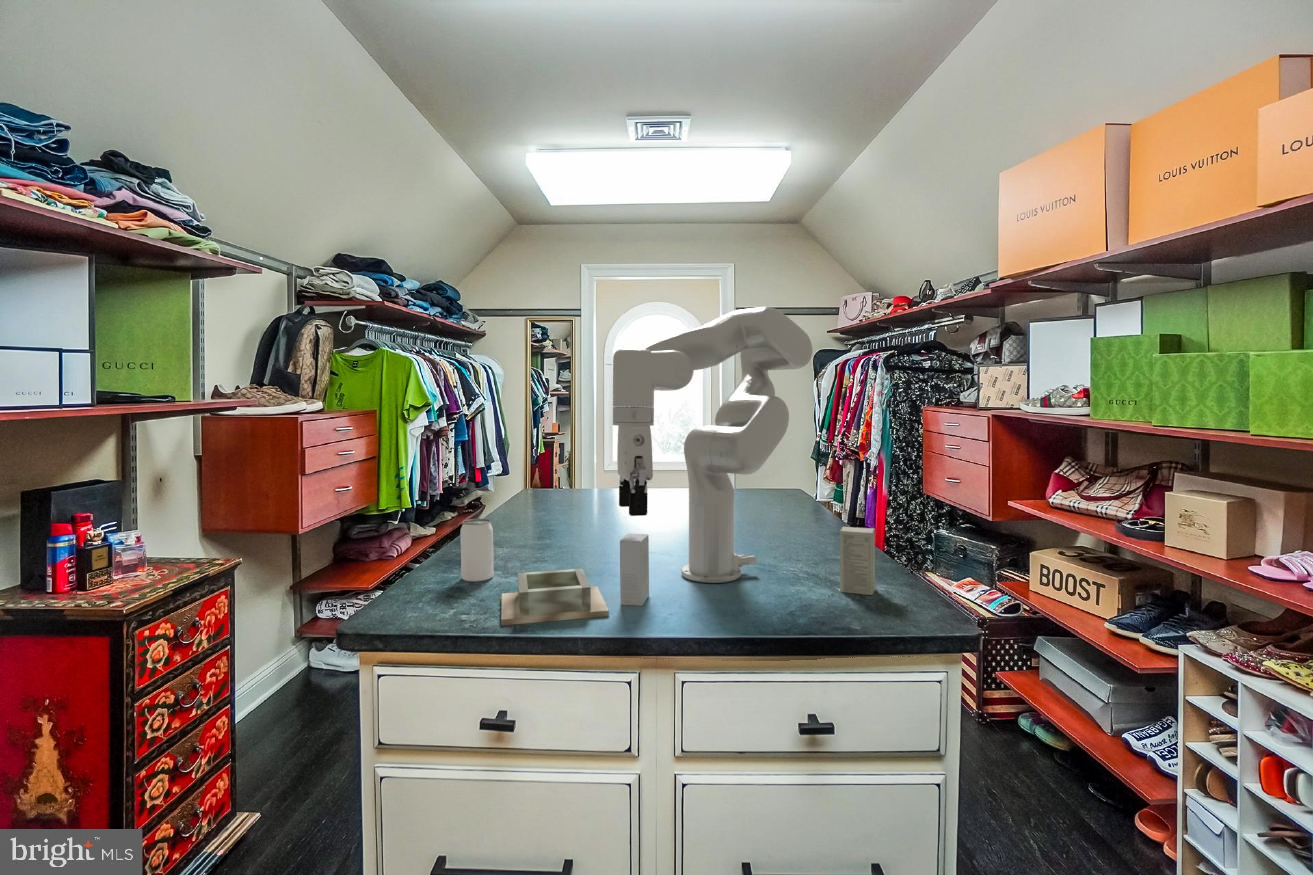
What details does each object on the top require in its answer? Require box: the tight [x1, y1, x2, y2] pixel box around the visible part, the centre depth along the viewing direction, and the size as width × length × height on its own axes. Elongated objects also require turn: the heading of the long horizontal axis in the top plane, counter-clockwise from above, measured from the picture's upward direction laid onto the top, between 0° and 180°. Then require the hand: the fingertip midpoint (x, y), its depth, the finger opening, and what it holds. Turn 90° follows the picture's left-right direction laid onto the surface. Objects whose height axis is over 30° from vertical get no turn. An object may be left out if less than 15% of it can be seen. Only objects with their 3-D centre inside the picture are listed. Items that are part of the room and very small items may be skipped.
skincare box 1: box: [619, 532, 650, 607], centre depth 114 cm, size 6×4×12 cm
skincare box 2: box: [839, 526, 876, 596], centre depth 120 cm, size 6×4×12 cm
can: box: [459, 518, 495, 583], centre depth 129 cm, size 6×6×12 cm
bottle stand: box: [500, 568, 610, 626], centre depth 111 cm, size 18×14×5 cm
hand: (632, 510), depth 113 cm, fingers open, 9 cm apart
